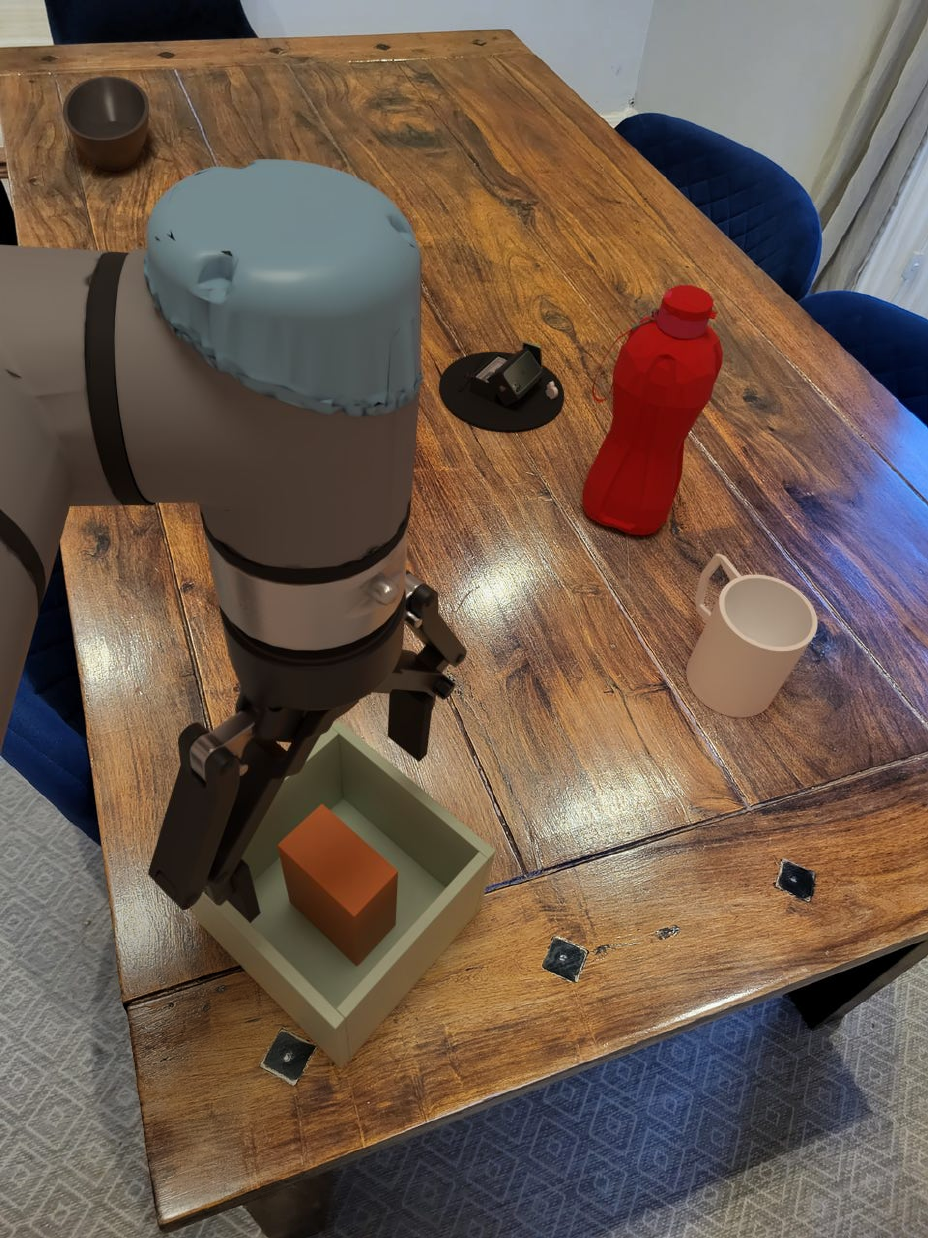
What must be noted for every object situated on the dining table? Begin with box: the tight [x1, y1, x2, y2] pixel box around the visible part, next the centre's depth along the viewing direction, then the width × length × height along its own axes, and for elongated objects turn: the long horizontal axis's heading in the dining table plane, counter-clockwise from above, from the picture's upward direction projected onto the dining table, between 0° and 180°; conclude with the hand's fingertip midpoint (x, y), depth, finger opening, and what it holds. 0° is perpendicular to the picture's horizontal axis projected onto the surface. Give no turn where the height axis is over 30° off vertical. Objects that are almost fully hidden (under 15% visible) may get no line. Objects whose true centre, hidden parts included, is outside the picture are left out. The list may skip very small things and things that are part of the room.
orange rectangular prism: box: [277, 804, 398, 966], centre depth 60 cm, size 4×7×10 cm, turn 49°
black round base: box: [438, 341, 565, 434], centre depth 103 cm, size 15×15×6 cm
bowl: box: [62, 76, 150, 173], centre depth 132 cm, size 12×22×6 cm, turn 12°
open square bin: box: [191, 720, 497, 1070], centre depth 60 cm, size 15×15×11 cm
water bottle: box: [581, 284, 724, 536], centre depth 84 cm, size 9×11×25 cm
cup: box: [685, 552, 818, 719], centre depth 78 cm, size 8×12×10 cm
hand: (328, 818), depth 52 cm, fingers open, 13 cm apart
